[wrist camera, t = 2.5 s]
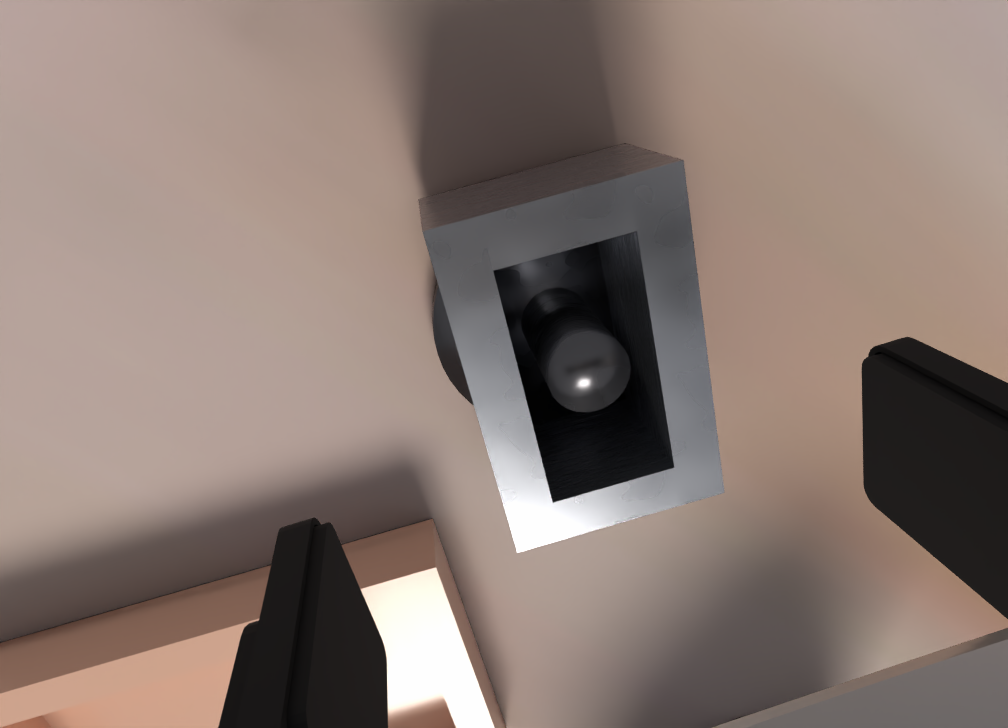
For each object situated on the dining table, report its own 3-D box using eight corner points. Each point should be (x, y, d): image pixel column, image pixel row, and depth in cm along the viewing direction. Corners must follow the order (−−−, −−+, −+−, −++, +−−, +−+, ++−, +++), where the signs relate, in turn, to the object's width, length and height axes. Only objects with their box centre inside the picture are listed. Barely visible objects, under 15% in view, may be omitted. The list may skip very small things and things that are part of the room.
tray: (432, 518, 22) (435, 567, 20) (506, 727, 26) (515, 786, 24) (-31, 651, 21) (-80, 716, 19) (121, 842, 26) (95, 912, 24)
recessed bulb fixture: (625, 143, 18) (683, 160, 14) (669, 421, 21) (724, 492, 17) (418, 199, 17) (422, 231, 14) (497, 470, 21) (517, 552, 17)
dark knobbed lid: (647, 164, 18) (715, 188, 14) (679, 385, 21) (743, 456, 17) (401, 231, 18) (401, 274, 14) (467, 445, 21) (482, 530, 17)
